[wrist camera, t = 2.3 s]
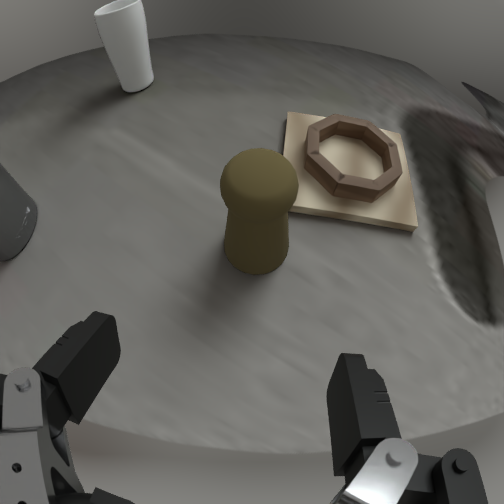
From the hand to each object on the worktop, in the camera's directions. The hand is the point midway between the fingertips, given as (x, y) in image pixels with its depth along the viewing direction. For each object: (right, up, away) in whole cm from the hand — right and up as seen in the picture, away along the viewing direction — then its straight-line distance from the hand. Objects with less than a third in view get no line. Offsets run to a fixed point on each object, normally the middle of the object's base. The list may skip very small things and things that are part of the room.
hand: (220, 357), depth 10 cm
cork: (+2, +4, +19) cm, 19 cm away
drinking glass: (-17, +30, +30) cm, 45 cm away
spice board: (+12, +13, +22) cm, 28 cm away
